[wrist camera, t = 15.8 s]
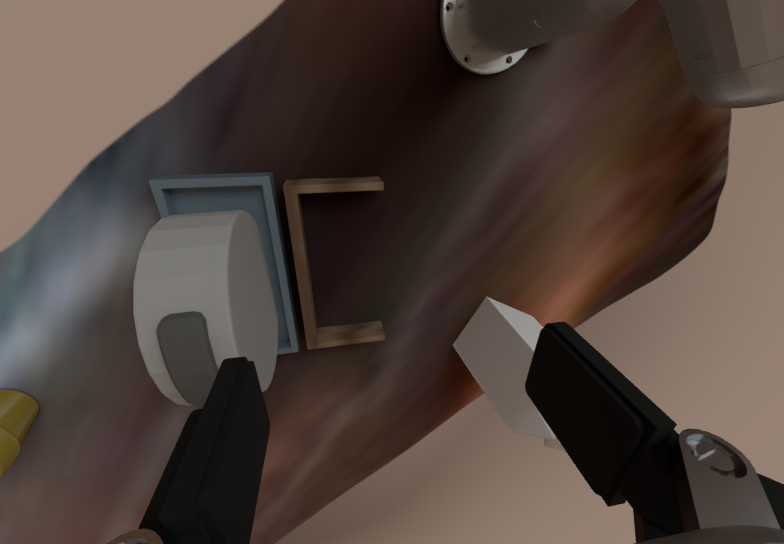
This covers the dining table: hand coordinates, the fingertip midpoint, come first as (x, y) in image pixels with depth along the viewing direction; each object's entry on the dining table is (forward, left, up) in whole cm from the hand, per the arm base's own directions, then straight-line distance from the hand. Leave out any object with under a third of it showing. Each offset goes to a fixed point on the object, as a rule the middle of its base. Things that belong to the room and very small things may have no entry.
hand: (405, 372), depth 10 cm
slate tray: (+15, +13, -37) cm, 42 cm away
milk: (-27, +30, -37) cm, 54 cm away
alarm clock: (+15, +12, -36) cm, 41 cm away
